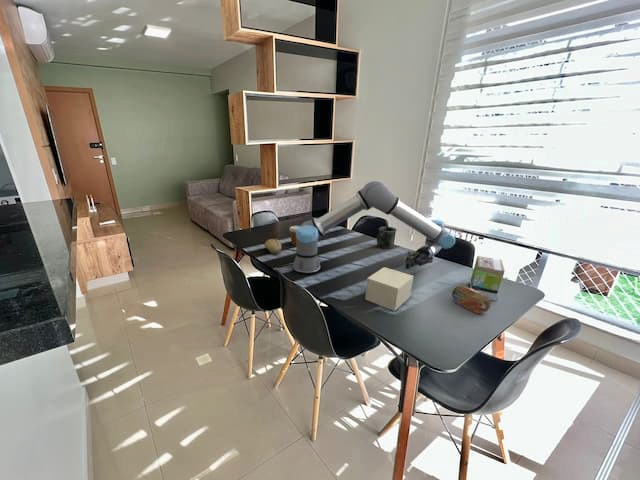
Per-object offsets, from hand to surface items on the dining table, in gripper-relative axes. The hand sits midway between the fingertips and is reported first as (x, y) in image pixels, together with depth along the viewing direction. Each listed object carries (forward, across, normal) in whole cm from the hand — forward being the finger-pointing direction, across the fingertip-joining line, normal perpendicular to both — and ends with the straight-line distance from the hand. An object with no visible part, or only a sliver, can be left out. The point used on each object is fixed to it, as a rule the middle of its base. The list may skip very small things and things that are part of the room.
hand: (407, 266), depth 139 cm
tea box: (-17, -29, -10) cm, 36 cm away
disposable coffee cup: (-8, +78, -10) cm, 79 cm away
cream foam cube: (+18, 0, -10) cm, 21 cm away
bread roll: (+12, +81, -10) cm, 82 cm away
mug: (-43, +32, -10) cm, 54 cm away
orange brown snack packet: (+2, -28, -10) cm, 30 cm away
